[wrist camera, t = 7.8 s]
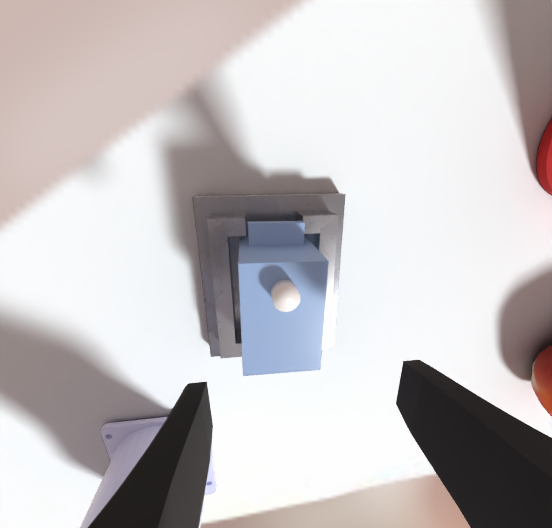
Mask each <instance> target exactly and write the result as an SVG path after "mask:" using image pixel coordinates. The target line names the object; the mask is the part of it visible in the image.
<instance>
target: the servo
mask: <svg viewBox="0 0 552 528" xmlns="http://www.w3.org/2000/svg"><path fill="white" fill-rule="evenodd" d="M304 231H305V223H304V222H303V221H254V222H248V237H240V243H239V260H238V269H239V292H240V315H241V338H242V361H243V376H249V375H261V374H274V373H286V372H298V371H311V370H320V367H321V354H322V341H323V329H324V316H325V303H326V291H327V278H328V266H329V261H328V260H327V259H326V258H325V256H324V255H323V254H322V253H321V252H320V251H319V250H318V249H317V248H316V247H315V246H314V245H313V244H312V243H311V242H310V241H309V240H308V239H307V238H306V237H305V236H304Z"/></svg>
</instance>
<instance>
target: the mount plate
mask: <svg viewBox="0 0 552 528" xmlns="http://www.w3.org/2000/svg"><path fill="white" fill-rule="evenodd" d="M193 205H194V214H195V222H196V231H197V240H198V249H199V257H200V266H201V275H202V283H203V292H204V301H205V310H206V318H207V327H208V336H209V345H210V353H211V357H214V356H221V358H229V357H241V356H242V338H241V315H240V292H239V269H238V260H239V243H240V237H248V222H254V221H303V222H304V223H305V231H304V236H305V237H306V238H307V239H308V240H309V241H310V242H311V243H312V244H313V245H314V246H315V247H316V248H317V249H318V250H319V251H320V252H321V253H322V254H323V255H324V256H325V258H326V259H327V260H328V261H329V266H328V278H327V291H326V303H325V316H324V329H323V341H322V349H329V347H331V346H334V336H335V323H336V310H337V297H338V284H339V270H340V257H341V244H342V231H343V218H344V205H345V194H342V193H318V194H268V195H217V196H194V197H193Z"/></svg>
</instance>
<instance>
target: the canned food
mask: <svg viewBox="0 0 552 528" xmlns="http://www.w3.org/2000/svg"><path fill="white" fill-rule="evenodd" d="M537 174H538V178H539V181H540V183H541V185H542V187H543V189H544V190H545V191H546V192H547V193H548V194H550V195H552V120H551V121H550V123H549V124H548V126H547V128H546V130H545V133H544V135H543V137H542V140H541V143H540V146H539V149H538V156H537Z"/></svg>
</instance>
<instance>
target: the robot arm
mask: <svg viewBox="0 0 552 528" xmlns="http://www.w3.org/2000/svg"><path fill="white" fill-rule="evenodd" d="M396 404H397V406H398V408H399V411H400V413H401V415H402V417H403V419H404V421H405V423H406V425H407V427H408V428H409V430H410V432H411V434H412V436H413V437H414V439H415V440H416V442H417V444H418V445H419V447H420V448H421V450H422V451H423V453H424V455H425V456H426V458H427V459H428V461H429V462H430V464H431V465H432V467H433V469H434V470H435V472H436V473H437V475H438V476H439V478H440V479H441V481H442V482H443V484H444V486H445V487H446V489H447V490H448V492H449V493H450V495H451V496H452V498H453V499H454V501H455V503H456V504H457V505H458V507H459V509H460V510H461V512H462V514H463V515H464V517H465V519H466V520H467V522H468V524H469V525H470V527H471V528H552V438H551V437H549V436H547V435H545V434H543V433H541V432H539V431H538V430H536V429H534V428H532V427H530V426H529V425H527V424H525V423H523V422H522V421H520V420H518V419H516V418H515V417H513V416H511V415H509V414H508V413H506V412H504V411H502V410H501V409H499V408H497V407H496V406H494V405H492V404H491V403H489V402H487V401H486V400H484V399H482V398H481V397H479V396H477V395H476V394H474V393H473V392H471V391H469V390H468V389H466V388H464V387H463V386H461V385H460V384H458V383H456V382H455V381H453V380H452V379H450V378H448V377H447V376H445V375H444V374H442V373H440V372H439V371H437V370H436V369H434V368H432V367H431V366H429V365H427V364H426V363H424V362H422V361H420V360H412V361H403V367H402V373H401V378H400V384H399V390H398V395H397V401H396ZM212 428H213V425H212V417H211V410H210V403H209V396H208V388H207V382H200V383H190V384H188V385H187V386H186V387H185V389H184V390H183V392H182V394H181V396H180V397H179V399H178V401H177V402H176V404H175V406H174V407H173V409H172V411H171V412H170V414H169V416H168V417H160V418H151V419H142V420H133V421H123V422H114V423H107V424H105V425H103V427H102V429H101V435H102V438H103V441H104V444H105V447H106V450H107V453H108V456H109V459H110V464H109V466H108V468H107V471H106V473H105V475H104V477H103V479H102V481H101V484H100V486H99V488H98V490H97V492H96V494H95V497H94V499H93V501H92V503H91V505H90V507H89V510H88V512H87V514H86V516H85V518H84V521H83V523H82V525H81V527H80V528H200V526H201V517H202V509H203V501H204V495H206V494H212V493H214V492H215V491H216V481H215V474H214V466H213V459H212V451H211V442H212Z"/></svg>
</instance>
